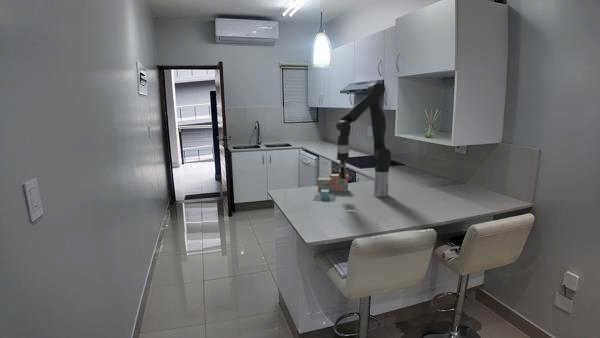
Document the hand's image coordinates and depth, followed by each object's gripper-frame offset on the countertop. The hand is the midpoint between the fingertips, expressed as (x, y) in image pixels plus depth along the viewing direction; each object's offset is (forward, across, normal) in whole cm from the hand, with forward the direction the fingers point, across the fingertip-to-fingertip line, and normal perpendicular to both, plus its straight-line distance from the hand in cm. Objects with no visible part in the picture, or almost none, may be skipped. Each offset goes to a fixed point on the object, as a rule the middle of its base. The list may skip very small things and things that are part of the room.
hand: (342, 177), depth 214 cm
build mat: (+15, -3, +11) cm, 19 cm away
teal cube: (+14, -3, +11) cm, 18 cm away
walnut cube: (+1, 0, 0) cm, 1 cm away
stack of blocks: (+15, +18, +7) cm, 24 cm away
